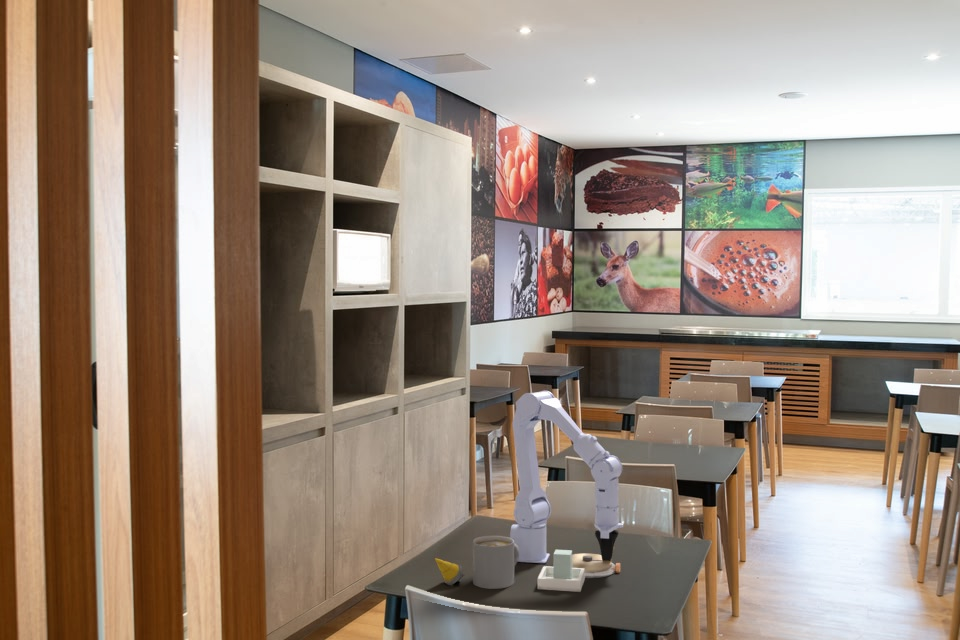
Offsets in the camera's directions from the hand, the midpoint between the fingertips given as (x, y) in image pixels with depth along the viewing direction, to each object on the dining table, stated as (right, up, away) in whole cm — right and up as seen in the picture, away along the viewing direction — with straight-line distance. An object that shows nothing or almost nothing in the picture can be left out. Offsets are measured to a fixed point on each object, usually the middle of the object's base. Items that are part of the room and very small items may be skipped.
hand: (606, 560), depth 218 cm
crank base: (-4, -3, +3) cm, 6 cm away
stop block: (-12, -3, -9) cm, 15 cm away
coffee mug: (-27, -4, -6) cm, 28 cm away
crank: (-4, -2, +3) cm, 5 cm away
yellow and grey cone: (-39, -4, -9) cm, 40 cm away
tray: (-12, -3, -9) cm, 15 cm away
